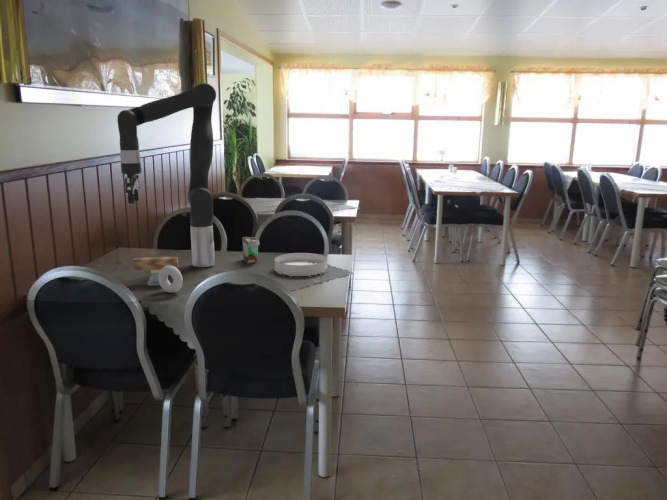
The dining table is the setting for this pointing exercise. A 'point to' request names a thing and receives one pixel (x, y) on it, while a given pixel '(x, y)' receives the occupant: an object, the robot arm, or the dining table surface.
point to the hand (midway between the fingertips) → (133, 202)
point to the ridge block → (154, 278)
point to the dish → (300, 263)
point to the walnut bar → (154, 263)
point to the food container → (250, 249)
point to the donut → (165, 282)
